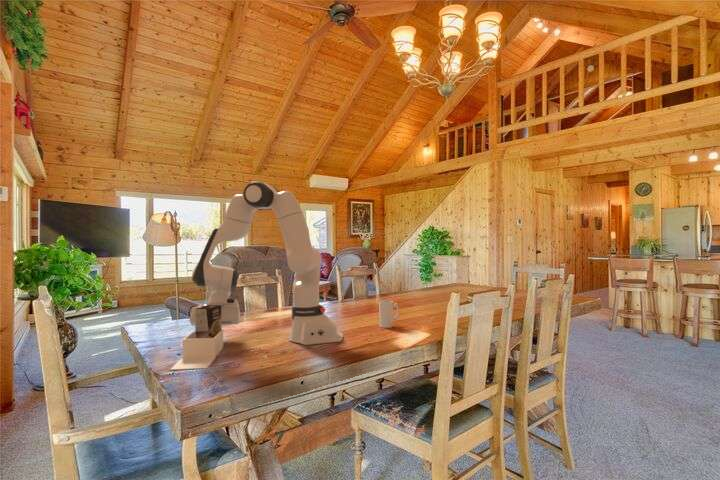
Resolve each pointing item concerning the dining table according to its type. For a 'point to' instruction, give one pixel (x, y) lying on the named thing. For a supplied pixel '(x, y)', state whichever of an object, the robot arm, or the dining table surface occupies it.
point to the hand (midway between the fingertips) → (212, 332)
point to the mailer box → (199, 352)
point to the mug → (387, 313)
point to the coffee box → (208, 321)
